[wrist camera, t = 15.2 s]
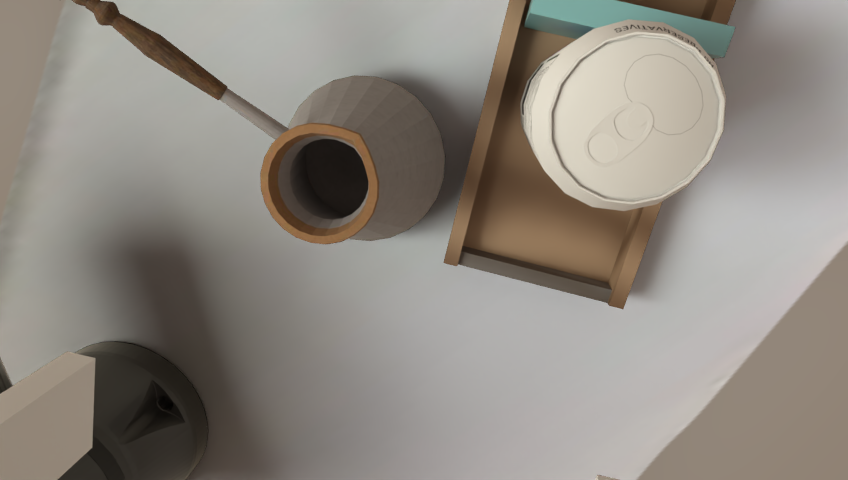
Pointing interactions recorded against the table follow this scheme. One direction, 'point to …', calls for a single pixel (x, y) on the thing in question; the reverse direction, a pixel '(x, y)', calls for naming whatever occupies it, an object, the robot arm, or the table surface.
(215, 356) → the table surface
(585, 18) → the plate
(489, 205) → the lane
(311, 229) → the coffee pot
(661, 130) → the supplement can
